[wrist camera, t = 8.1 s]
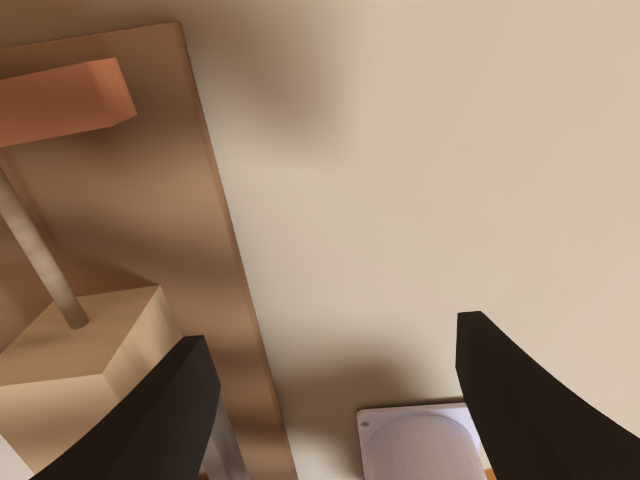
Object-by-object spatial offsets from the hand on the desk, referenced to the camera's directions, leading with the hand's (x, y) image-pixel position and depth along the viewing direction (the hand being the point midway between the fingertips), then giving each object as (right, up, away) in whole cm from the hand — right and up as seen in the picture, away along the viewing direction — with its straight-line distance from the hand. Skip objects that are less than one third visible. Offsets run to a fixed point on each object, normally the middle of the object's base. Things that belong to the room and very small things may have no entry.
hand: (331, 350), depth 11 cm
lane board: (-12, -3, +13) cm, 18 cm away
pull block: (-12, +2, +9) cm, 15 cm away
